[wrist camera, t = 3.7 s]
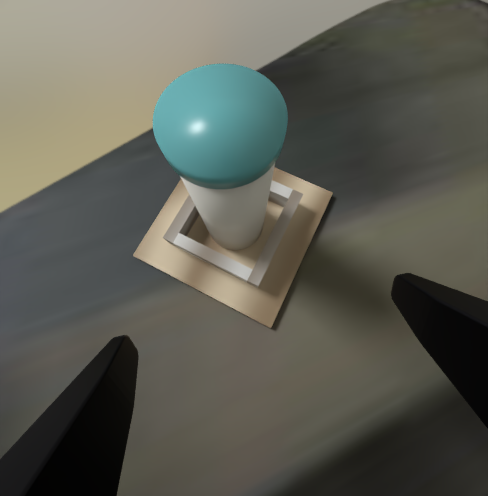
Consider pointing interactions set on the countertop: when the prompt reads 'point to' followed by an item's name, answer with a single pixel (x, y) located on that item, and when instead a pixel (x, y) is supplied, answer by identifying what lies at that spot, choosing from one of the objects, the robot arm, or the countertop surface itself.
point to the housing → (239, 261)
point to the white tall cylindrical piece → (224, 145)
